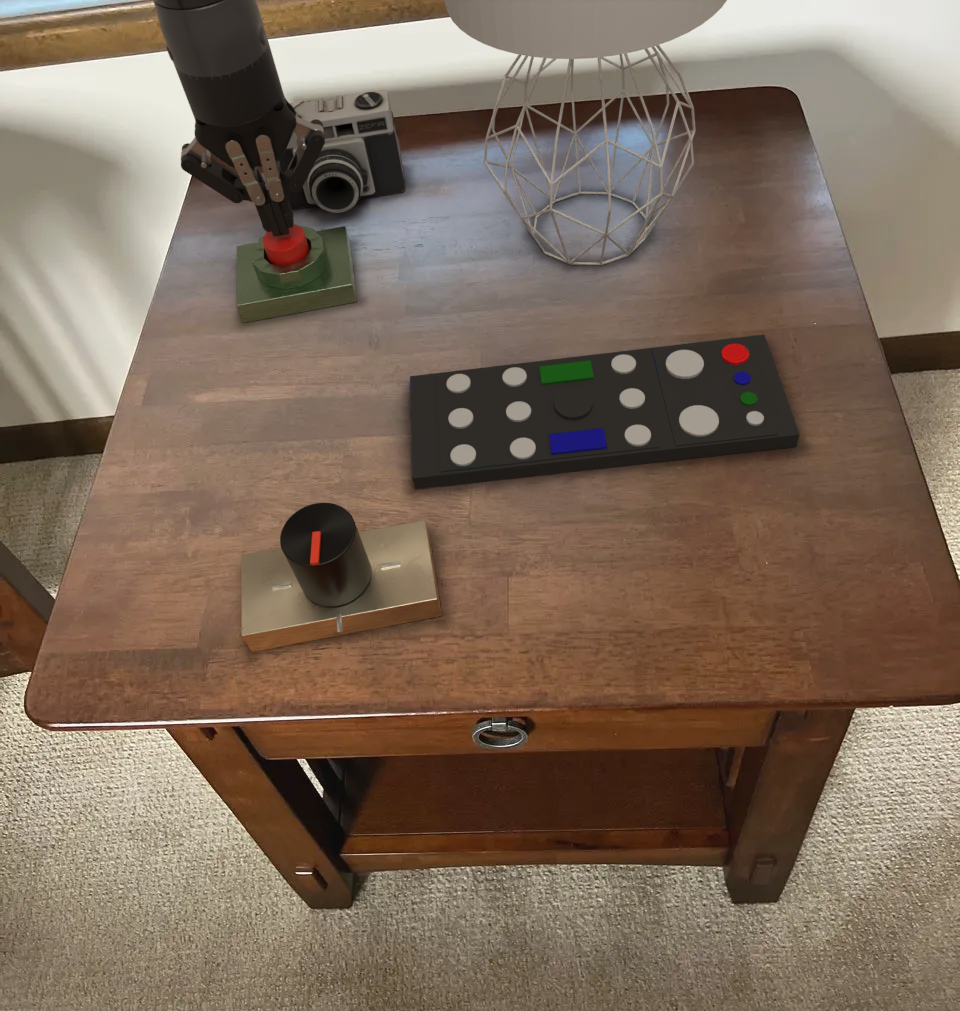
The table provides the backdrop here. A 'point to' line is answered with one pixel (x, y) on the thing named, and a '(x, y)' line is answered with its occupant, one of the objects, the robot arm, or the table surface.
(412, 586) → the panel
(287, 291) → the box
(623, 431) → the remote control
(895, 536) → the table surface
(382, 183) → the camera
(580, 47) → the table lamp
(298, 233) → the button
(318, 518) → the hob knob
